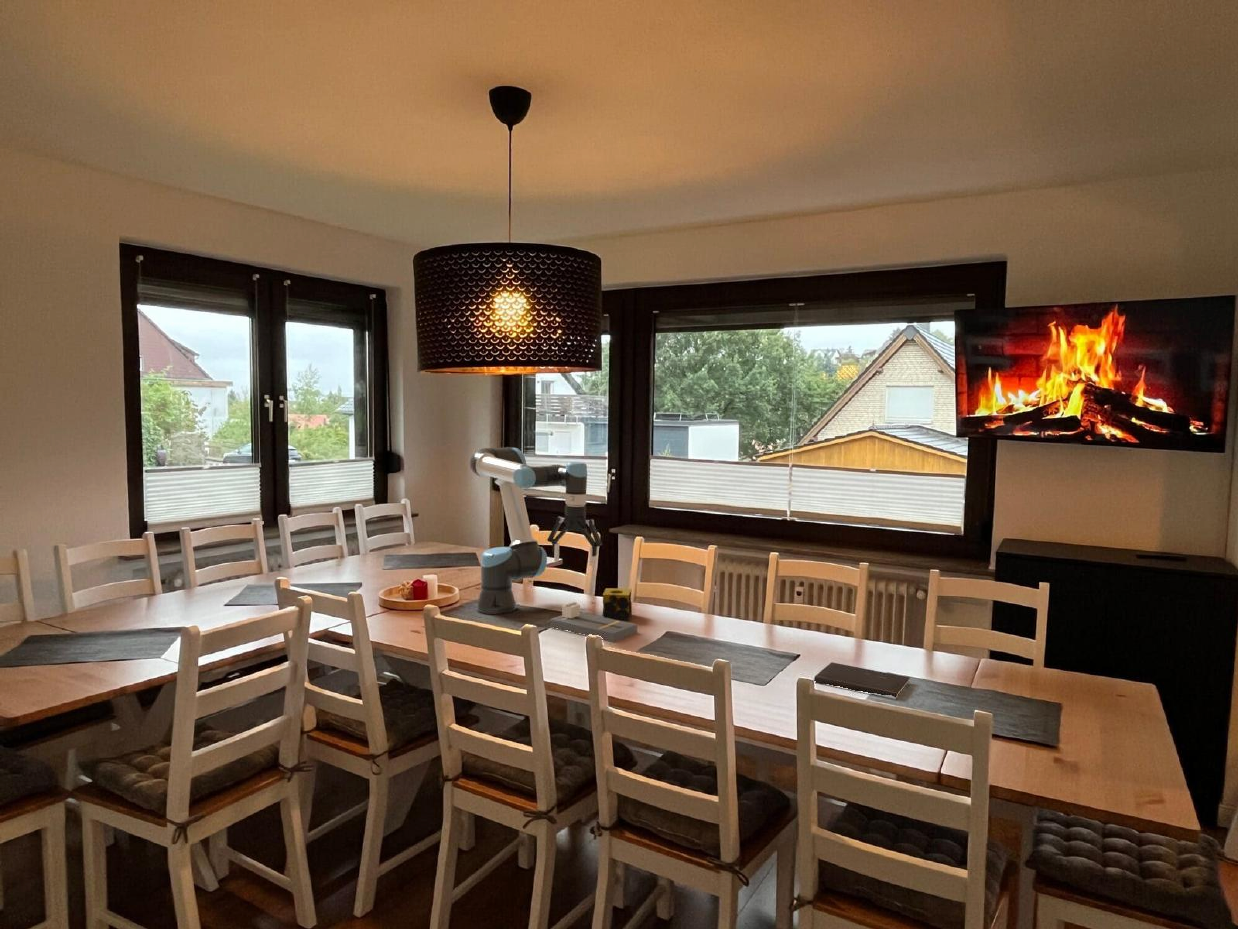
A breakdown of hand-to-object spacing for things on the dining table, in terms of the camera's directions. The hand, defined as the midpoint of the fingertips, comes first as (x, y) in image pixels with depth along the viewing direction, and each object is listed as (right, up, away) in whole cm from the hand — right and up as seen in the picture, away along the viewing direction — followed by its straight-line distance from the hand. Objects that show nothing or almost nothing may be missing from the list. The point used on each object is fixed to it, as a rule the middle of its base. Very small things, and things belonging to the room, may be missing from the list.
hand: (573, 563), depth 280 cm
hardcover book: (+87, -28, -57) cm, 107 cm away
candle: (+16, -22, +9) cm, 28 cm away
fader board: (+7, -23, -8) cm, 25 cm away
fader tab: (-1, -19, -3) cm, 19 cm away
